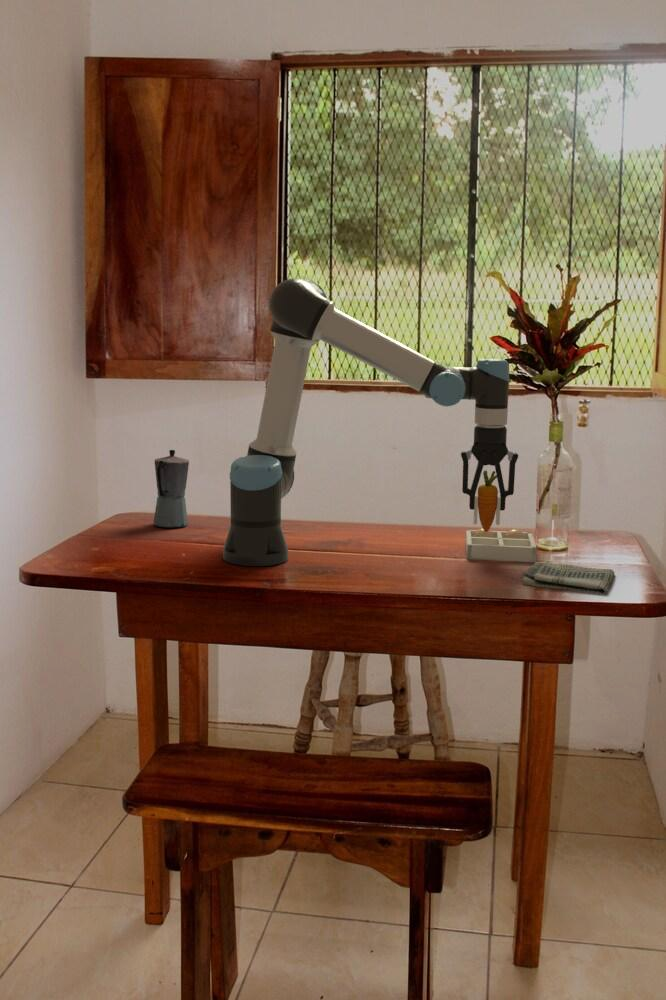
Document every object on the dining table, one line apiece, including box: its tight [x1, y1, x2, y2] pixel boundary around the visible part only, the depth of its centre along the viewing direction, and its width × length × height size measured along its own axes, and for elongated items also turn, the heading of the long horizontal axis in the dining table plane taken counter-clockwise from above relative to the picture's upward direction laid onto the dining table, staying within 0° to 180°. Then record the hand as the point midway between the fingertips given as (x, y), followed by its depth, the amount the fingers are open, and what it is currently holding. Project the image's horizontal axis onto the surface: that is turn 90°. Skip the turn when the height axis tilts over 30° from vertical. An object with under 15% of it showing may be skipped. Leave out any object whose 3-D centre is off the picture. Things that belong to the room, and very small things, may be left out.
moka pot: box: [153, 449, 190, 528], centre depth 275 cm, size 10×15×20 cm, turn 169°
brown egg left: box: [475, 527, 493, 538], centre depth 259 cm, size 5×5×5 cm
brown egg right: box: [505, 528, 524, 539], centre depth 258 cm, size 5×5×5 cm
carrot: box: [477, 470, 499, 532], centre depth 249 cm, size 5×5×15 cm
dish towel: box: [521, 560, 615, 595], centre depth 232 cm, size 19×18×3 cm
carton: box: [465, 529, 537, 563], centre depth 255 cm, size 16×16×4 cm
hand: (486, 523), depth 250 cm, fingers closed on carrot, 5 cm apart
